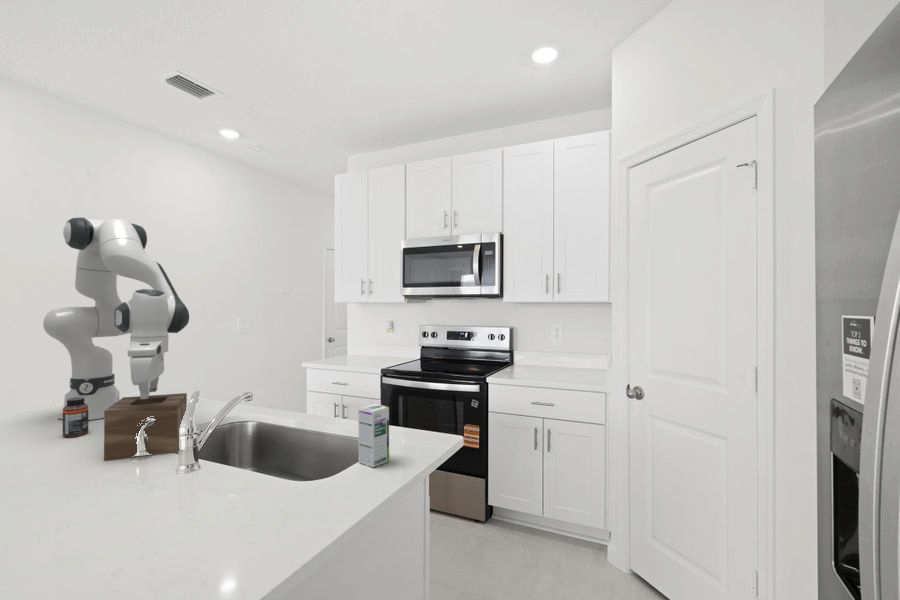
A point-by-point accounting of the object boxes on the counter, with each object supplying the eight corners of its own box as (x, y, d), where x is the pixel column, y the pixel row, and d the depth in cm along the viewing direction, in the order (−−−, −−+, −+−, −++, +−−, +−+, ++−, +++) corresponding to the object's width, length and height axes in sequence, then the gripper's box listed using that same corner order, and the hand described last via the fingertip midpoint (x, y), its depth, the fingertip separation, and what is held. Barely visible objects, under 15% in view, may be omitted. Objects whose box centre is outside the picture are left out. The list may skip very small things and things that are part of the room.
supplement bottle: (67, 433, 130) (67, 397, 130) (91, 431, 133) (91, 395, 133) (58, 439, 125) (59, 401, 125) (84, 436, 127) (84, 399, 127)
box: (122, 441, 123) (123, 397, 123) (186, 434, 130) (186, 393, 130) (103, 460, 109) (104, 410, 109) (176, 452, 115) (177, 404, 115)
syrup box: (373, 468, 105) (373, 410, 105) (357, 462, 109) (358, 407, 109) (389, 461, 110) (390, 406, 110) (374, 456, 113) (374, 402, 113)
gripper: (145, 343, 127) (145, 388, 127) (125, 350, 109) (124, 404, 109) (170, 342, 130) (169, 387, 130) (154, 350, 111) (154, 402, 111)
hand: (149, 395), depth 119 cm, fingers open, 8 cm apart
